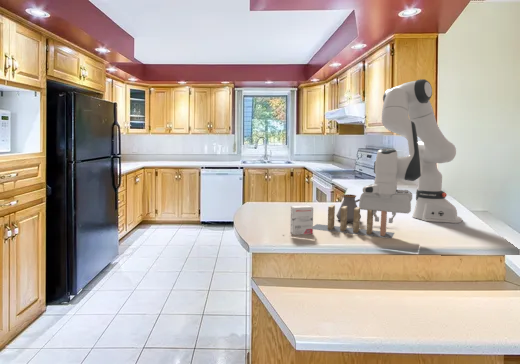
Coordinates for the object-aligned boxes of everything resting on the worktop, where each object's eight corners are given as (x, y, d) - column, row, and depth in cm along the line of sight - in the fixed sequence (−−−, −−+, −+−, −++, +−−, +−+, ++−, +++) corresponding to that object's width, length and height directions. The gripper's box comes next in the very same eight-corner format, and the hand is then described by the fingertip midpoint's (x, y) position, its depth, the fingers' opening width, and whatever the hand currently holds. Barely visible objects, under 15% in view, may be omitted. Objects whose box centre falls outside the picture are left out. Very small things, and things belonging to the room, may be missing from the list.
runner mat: (394, 234, 162) (394, 232, 162) (391, 239, 154) (391, 238, 153) (316, 225, 177) (316, 224, 177) (309, 230, 168) (309, 228, 168)
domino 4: (372, 231, 164) (373, 208, 163) (370, 234, 159) (371, 210, 158) (368, 231, 165) (369, 208, 163) (366, 233, 160) (367, 210, 159)
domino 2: (346, 228, 169) (347, 206, 167) (343, 231, 164) (344, 208, 163) (342, 228, 169) (343, 205, 168) (340, 230, 165) (340, 207, 164)
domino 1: (334, 227, 171) (334, 205, 170) (331, 229, 167) (331, 206, 165) (330, 226, 172) (331, 204, 170) (327, 229, 167) (328, 206, 166)
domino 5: (385, 233, 162) (387, 209, 160) (384, 235, 157) (385, 211, 156) (381, 232, 162) (383, 209, 161) (380, 235, 158) (381, 211, 157)
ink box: (309, 232, 165) (310, 204, 163) (313, 235, 160) (313, 207, 158) (289, 233, 163) (290, 205, 162) (293, 236, 158) (293, 207, 157)
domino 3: (359, 230, 166) (360, 207, 165) (356, 232, 162) (357, 209, 161) (355, 229, 167) (356, 207, 166) (353, 232, 163) (353, 209, 161)
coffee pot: (340, 224, 179) (341, 192, 177) (333, 219, 190) (334, 189, 188) (384, 224, 180) (386, 192, 178) (375, 219, 192) (377, 189, 190)
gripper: (413, 189, 156) (411, 223, 157) (361, 186, 164) (360, 218, 166) (412, 191, 150) (410, 226, 152) (358, 188, 159) (357, 221, 161)
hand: (383, 222), depth 159 cm, fingers open, 4 cm apart
